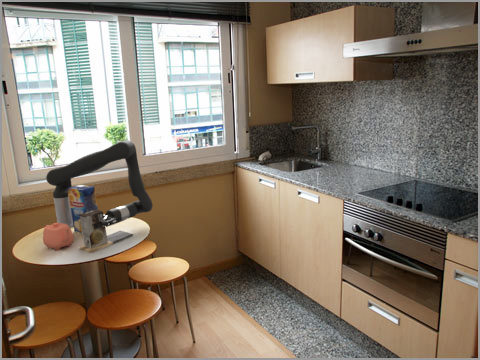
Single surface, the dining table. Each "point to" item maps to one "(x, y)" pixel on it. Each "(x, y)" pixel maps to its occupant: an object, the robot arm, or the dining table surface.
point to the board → (111, 240)
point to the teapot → (57, 236)
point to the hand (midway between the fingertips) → (89, 225)
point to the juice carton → (81, 203)
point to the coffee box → (89, 232)
